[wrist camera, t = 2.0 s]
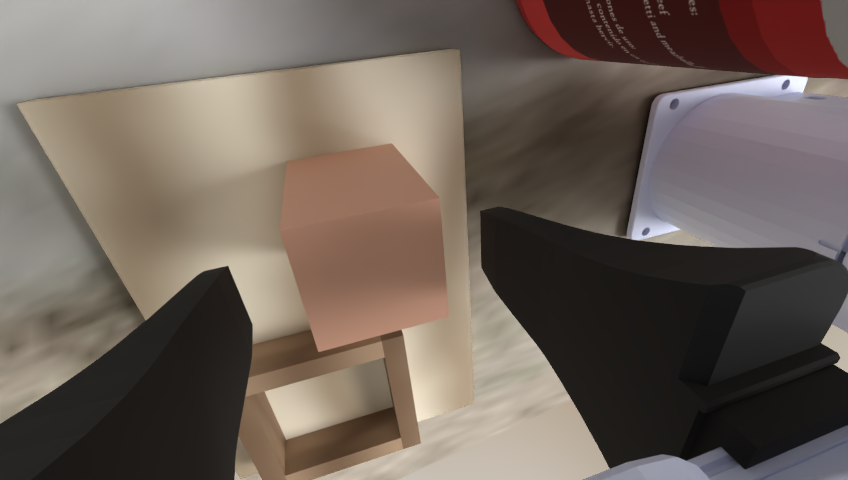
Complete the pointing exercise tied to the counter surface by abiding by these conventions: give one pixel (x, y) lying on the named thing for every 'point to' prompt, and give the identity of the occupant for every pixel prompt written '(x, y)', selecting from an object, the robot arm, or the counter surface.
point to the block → (363, 244)
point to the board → (277, 235)
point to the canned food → (700, 33)
